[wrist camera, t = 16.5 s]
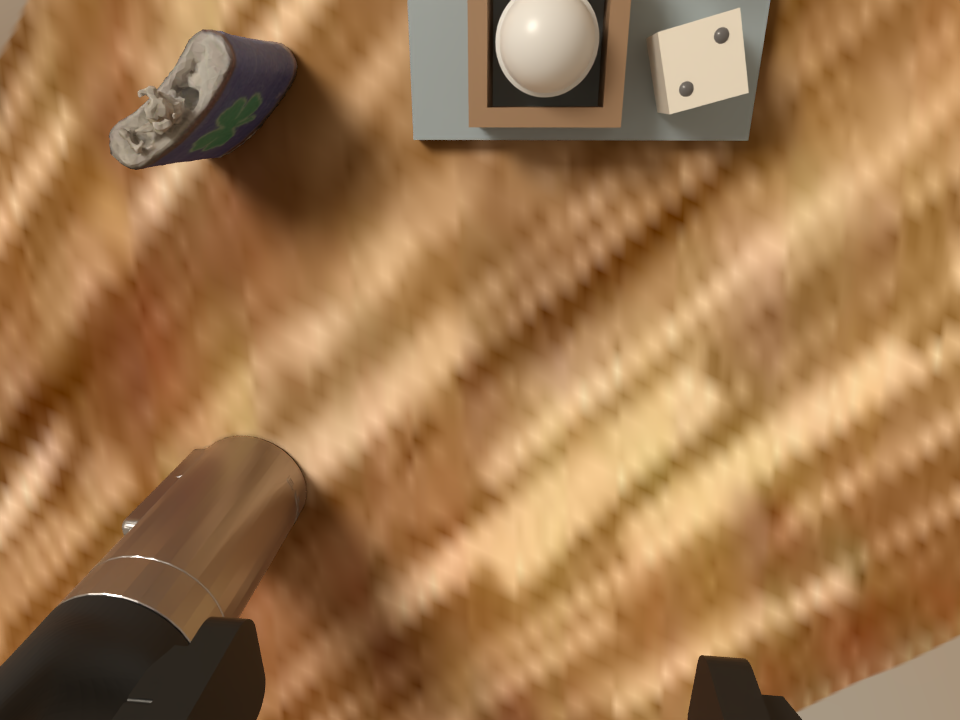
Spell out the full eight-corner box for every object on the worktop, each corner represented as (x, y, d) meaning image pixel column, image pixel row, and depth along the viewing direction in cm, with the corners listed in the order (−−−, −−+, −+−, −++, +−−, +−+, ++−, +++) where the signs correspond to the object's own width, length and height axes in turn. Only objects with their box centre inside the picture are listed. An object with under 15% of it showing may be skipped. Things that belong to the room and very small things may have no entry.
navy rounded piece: (278, 33, 38) (185, 12, 28) (312, 73, 38) (232, 67, 29) (186, 135, 41) (72, 148, 31) (219, 171, 41) (118, 195, 32)
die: (657, 112, 36) (670, 114, 32) (645, 38, 35) (658, 31, 31) (727, 92, 36) (749, 92, 32) (719, 16, 34) (741, 6, 30)
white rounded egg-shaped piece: (500, 97, 36) (491, 97, 30) (501, -6, 34) (492, -27, 28) (590, 97, 36) (599, 97, 30) (596, -8, 34) (607, -29, 28)
